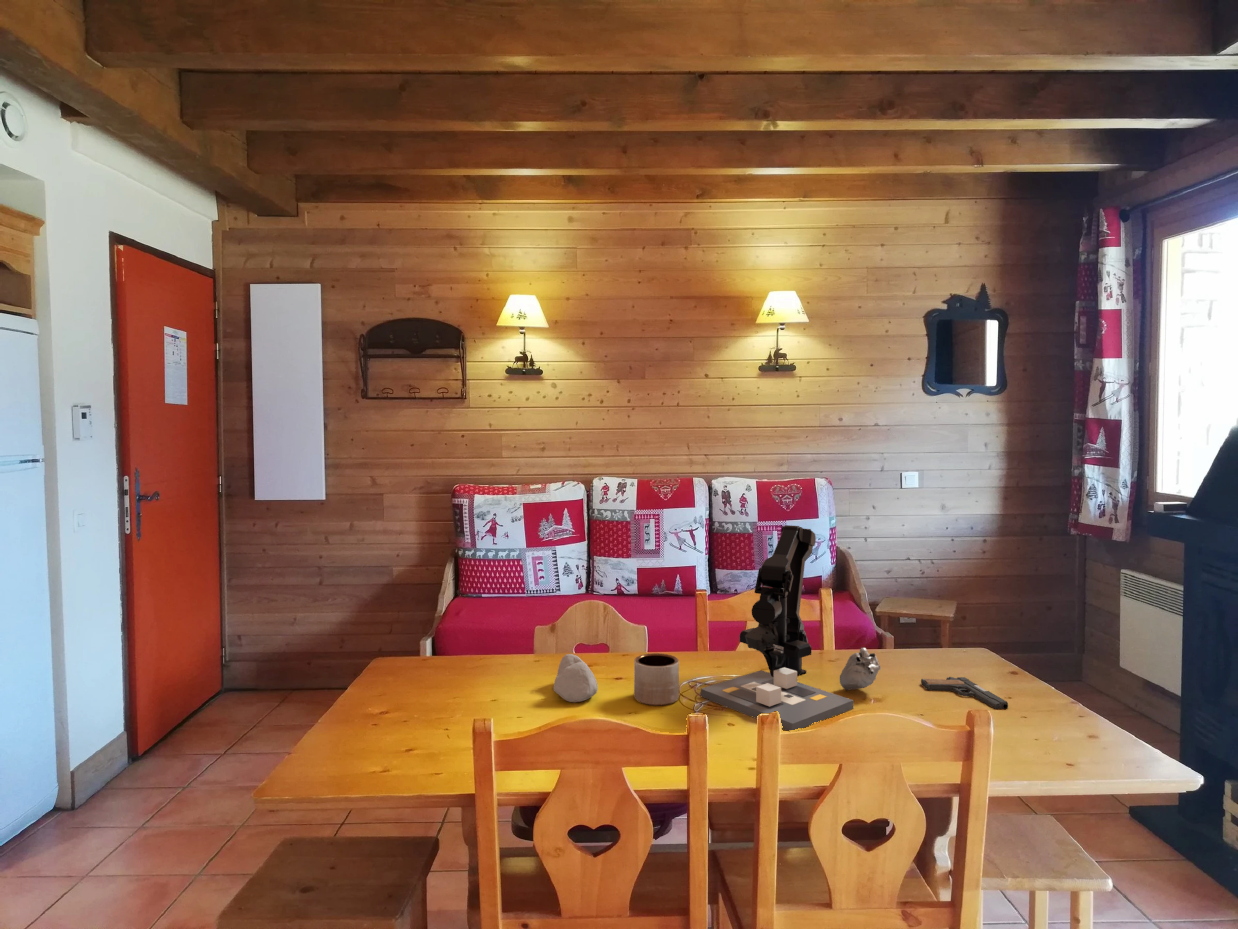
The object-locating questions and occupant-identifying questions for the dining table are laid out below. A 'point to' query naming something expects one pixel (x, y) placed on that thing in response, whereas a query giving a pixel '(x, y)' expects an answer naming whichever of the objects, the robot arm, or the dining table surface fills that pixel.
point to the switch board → (794, 709)
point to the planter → (656, 679)
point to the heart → (859, 670)
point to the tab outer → (768, 694)
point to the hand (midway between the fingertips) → (774, 676)
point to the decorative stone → (574, 680)
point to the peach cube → (785, 678)
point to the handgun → (965, 690)
